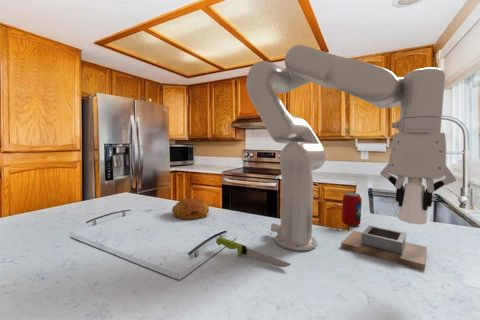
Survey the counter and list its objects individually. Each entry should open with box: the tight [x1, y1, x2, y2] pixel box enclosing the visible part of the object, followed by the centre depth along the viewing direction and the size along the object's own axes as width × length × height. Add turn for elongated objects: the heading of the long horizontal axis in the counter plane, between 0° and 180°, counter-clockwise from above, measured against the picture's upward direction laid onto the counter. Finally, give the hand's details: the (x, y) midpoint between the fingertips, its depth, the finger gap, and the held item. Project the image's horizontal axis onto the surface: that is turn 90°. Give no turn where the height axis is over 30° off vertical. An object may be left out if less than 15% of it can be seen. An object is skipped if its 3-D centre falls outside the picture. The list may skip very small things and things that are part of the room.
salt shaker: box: [398, 177, 427, 225], centre depth 55 cm, size 5×5×11 cm
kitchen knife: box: [215, 237, 292, 268], centre depth 64 cm, size 22×1×3 cm, turn 60°
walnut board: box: [340, 230, 428, 271], centre depth 72 cm, size 20×14×2 cm
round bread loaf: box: [171, 198, 210, 221], centre depth 102 cm, size 14×16×8 cm
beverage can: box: [341, 192, 363, 227], centre depth 95 cm, size 7×7×12 cm
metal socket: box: [361, 225, 407, 255], centre depth 71 cm, size 10×10×4 cm
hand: (412, 206), depth 55 cm, fingers closed on salt shaker, 3 cm apart
